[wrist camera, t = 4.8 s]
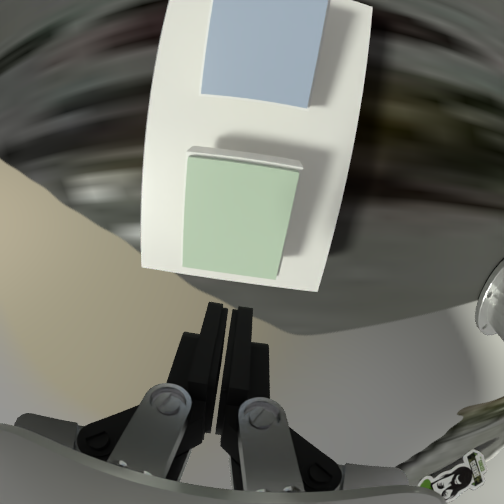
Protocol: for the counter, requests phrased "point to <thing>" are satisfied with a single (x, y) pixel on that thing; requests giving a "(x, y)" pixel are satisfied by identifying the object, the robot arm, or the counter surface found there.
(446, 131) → the counter surface
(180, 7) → the switch box
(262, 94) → the slate rocker
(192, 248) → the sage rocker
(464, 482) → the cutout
